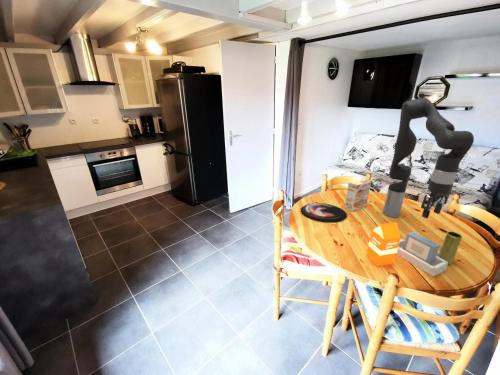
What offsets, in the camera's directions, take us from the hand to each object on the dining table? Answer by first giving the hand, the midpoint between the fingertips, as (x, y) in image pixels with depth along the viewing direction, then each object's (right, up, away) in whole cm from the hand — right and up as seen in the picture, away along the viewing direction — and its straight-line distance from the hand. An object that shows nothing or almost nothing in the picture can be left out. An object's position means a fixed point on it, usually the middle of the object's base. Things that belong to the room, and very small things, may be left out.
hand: (430, 215), depth 101 cm
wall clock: (-30, -5, +54) cm, 62 cm away
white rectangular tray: (0, -22, +9) cm, 24 cm away
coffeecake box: (-6, -2, +60) cm, 60 cm away
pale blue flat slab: (0, -21, +9) cm, 23 cm away
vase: (+14, -23, +9) cm, 28 cm away
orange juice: (-17, -23, +9) cm, 30 cm away
